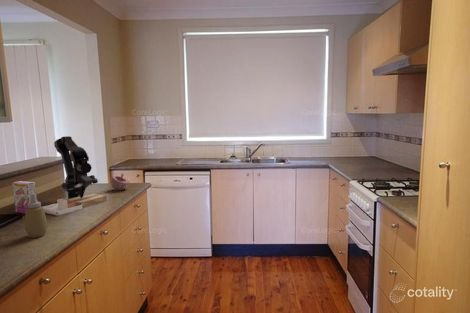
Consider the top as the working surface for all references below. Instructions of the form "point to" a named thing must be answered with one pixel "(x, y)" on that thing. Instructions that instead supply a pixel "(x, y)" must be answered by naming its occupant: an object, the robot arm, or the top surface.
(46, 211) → the tray
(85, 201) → the thick wooden platform
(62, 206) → the tile cream
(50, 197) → the top surface
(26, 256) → the top surface
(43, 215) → the squeeze bottle
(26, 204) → the candy bar box
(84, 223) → the top surface
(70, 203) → the tile terracotta
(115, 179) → the mortar and pestle
